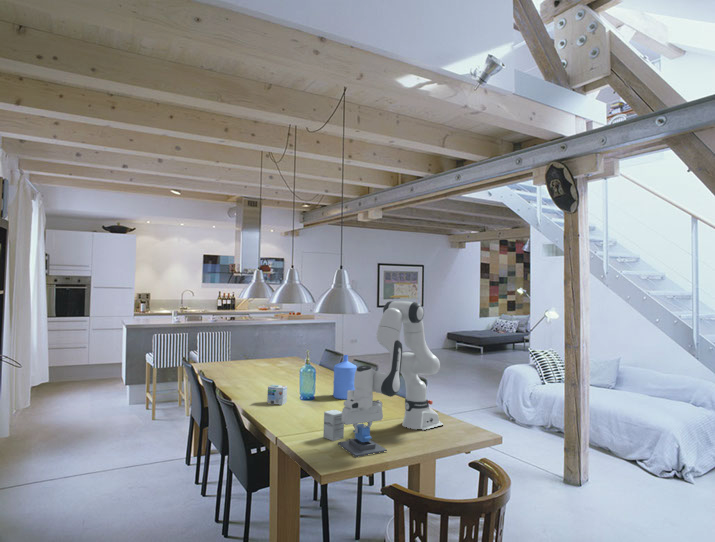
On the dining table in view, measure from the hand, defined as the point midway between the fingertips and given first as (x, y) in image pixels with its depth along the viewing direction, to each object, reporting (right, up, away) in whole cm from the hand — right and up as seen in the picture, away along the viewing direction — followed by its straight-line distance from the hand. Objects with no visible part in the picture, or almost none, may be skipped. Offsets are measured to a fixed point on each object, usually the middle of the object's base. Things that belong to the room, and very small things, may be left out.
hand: (362, 432), depth 207 cm
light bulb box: (-53, -9, +75) cm, 92 cm away
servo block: (0, -3, 0) cm, 3 cm away
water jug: (-11, -11, +96) cm, 97 cm away
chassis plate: (0, -7, 0) cm, 7 cm away
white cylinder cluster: (-3, -10, +53) cm, 54 cm away
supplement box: (-14, -8, +13) cm, 20 cm away
